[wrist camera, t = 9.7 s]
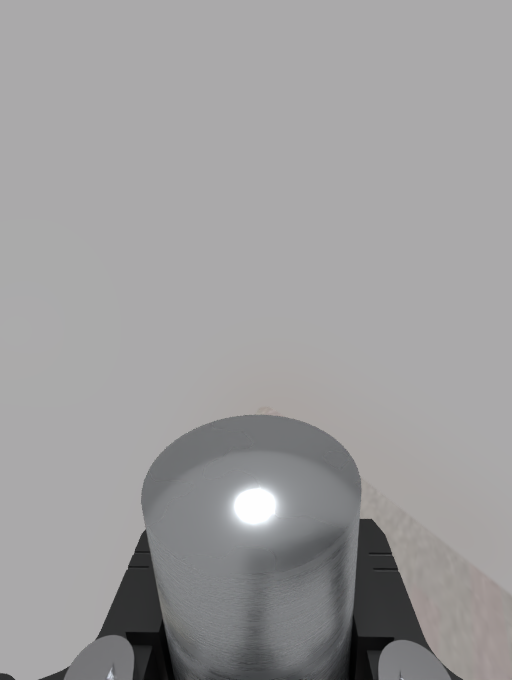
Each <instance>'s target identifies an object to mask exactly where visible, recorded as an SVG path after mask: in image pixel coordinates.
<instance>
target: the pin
mask: <svg viewBox="0 0 512 680" xmlns="http://www.w3.org/2000/svg"><path fill="white" fill-rule="evenodd" d="M141 503H142V510H143V516H144V521H145V527H146V532H147V537H148V542H149V548H150V553H151V558H152V563H153V569H154V574H155V579H156V584H157V590H158V595H159V600H160V606H161V611H162V616H163V621H164V627H165V632H166V637H167V642H168V648H169V653H170V658H171V663H172V669H173V674H174V679H175V680H349V667H350V652H351V637H352V622H353V608H354V593H355V578H356V563H357V548H358V533H359V519H360V504H361V479H360V475H359V472H358V468H357V467H356V464H355V462H354V460H353V458H352V457H351V456H350V454H349V453H348V451H347V450H346V449H345V448H344V447H343V446H342V445H341V444H340V443H339V442H338V441H337V440H336V439H334V438H333V437H332V436H330V435H329V434H327V433H326V432H324V431H322V430H320V429H319V428H317V427H315V426H312V425H310V424H307V423H305V422H301V421H298V420H295V419H290V418H286V417H280V416H271V415H245V416H237V417H230V418H225V419H221V420H217V421H214V422H211V423H208V424H205V425H203V426H200V427H198V428H196V429H193V430H192V431H190V432H188V433H186V434H184V435H183V436H181V437H180V438H178V439H177V440H175V441H174V442H173V443H172V444H170V445H169V446H168V447H167V448H166V449H165V450H164V451H163V452H162V453H161V454H160V455H159V456H158V457H157V459H156V460H155V461H154V462H153V464H152V466H151V467H150V469H149V471H148V473H147V475H146V478H145V480H144V484H143V488H142V498H141Z"/></svg>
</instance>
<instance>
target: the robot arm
mask: <svg viewBox="0 0 512 680" xmlns="http://www.w3.org/2000/svg"><path fill="white" fill-rule="evenodd" d="M0 680H15V679H14V678H13V677H12V676H10V675H8V674H3V673H0ZM39 680H175V679H174V674H173V669H172V663H171V658H170V653H169V648H168V642H167V637H166V632H165V627H164V621H163V616H162V611H161V606H160V600H159V595H158V590H157V584H156V579H155V574H154V569H153V563H152V558H151V553H150V548H149V542H148V537H147V532H146V530H145V531H144V532H143V533H142V535H141V537H140V539H139V542H138V545H137V547H136V549H135V553H134V555H133V556H132V558H131V561H130V563H129V565H128V570H126V573H125V575H124V577H123V580H122V582H121V584H120V587H119V589H118V591H117V594H116V596H115V598H114V601H113V603H112V605H111V608H110V610H109V613H108V615H107V617H106V620H105V622H104V624H103V627H102V629H101V631H100V633H99V635H98V637H97V638H96V640H95V641H94V642H92V643H91V644H89V645H88V646H87V647H86V648H85V649H83V650H82V651H81V653H80V654H79V655H78V656H77V657H76V658H75V660H74V661H73V662H72V664H71V665H70V666H69V667H67V668H66V669H64V670H62V671H60V672H58V673H55V674H53V675H50V676H47V677H45V678H42V679H39ZM349 680H463V679H461V678H460V677H458V676H456V675H455V674H454V673H452V672H451V671H450V670H449V669H448V668H446V667H445V666H444V665H443V664H442V663H441V662H440V660H439V659H438V658H437V657H436V656H435V654H434V653H433V652H432V650H431V649H430V647H429V645H428V644H427V642H426V640H425V638H424V635H423V633H422V630H421V628H420V625H419V622H418V620H417V617H416V614H415V612H414V609H413V607H412V604H411V601H410V599H409V596H408V594H407V591H406V588H405V586H404V583H403V580H402V578H401V575H400V573H399V572H398V567H397V565H396V562H395V560H394V557H393V556H392V552H391V549H390V546H389V544H388V541H387V539H386V536H385V534H384V533H383V532H382V530H381V529H380V528H379V527H378V526H377V525H376V523H375V522H374V521H373V520H372V519H359V533H358V548H357V563H356V578H355V593H354V608H353V622H352V637H351V652H350V667H349Z"/></svg>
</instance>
